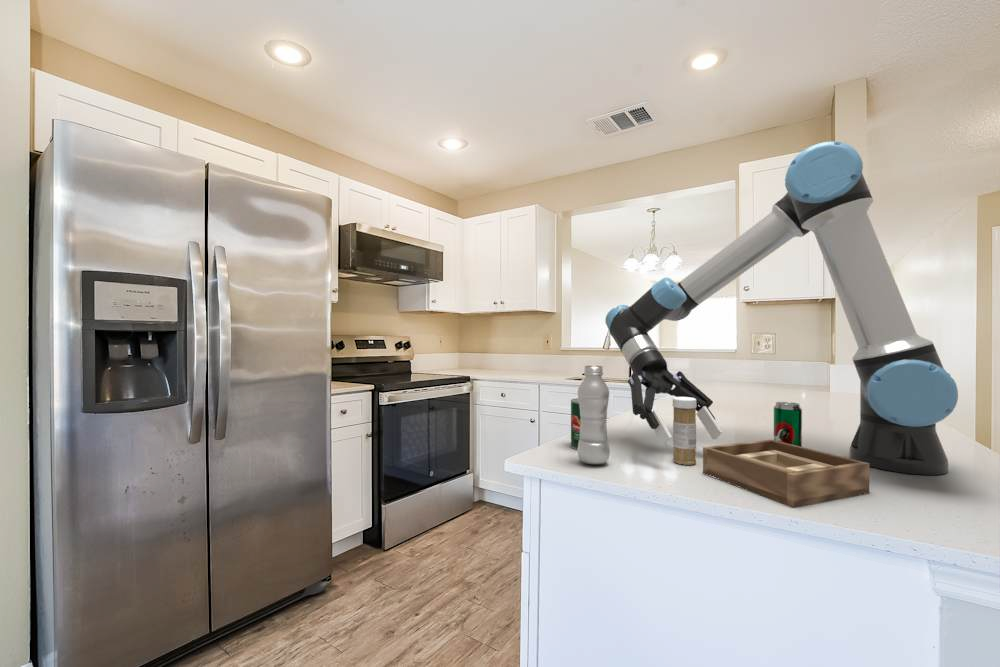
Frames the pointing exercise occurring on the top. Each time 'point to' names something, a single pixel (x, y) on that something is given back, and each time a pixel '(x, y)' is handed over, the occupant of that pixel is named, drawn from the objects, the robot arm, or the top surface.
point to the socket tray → (787, 471)
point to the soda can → (788, 423)
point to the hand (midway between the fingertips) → (693, 438)
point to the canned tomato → (575, 423)
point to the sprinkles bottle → (684, 430)
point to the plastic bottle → (593, 417)
